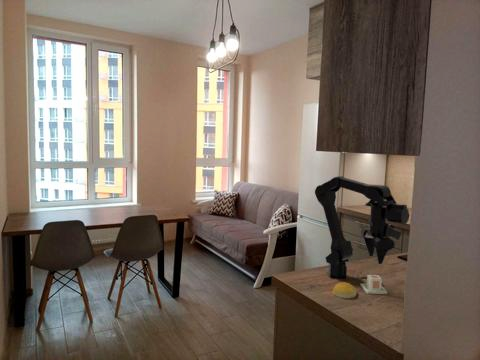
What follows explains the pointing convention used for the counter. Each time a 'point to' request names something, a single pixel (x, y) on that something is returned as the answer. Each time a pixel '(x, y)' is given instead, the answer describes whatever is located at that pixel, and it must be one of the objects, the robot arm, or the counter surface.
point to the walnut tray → (364, 279)
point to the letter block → (374, 283)
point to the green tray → (373, 291)
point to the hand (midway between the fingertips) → (375, 259)
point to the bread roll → (344, 290)
